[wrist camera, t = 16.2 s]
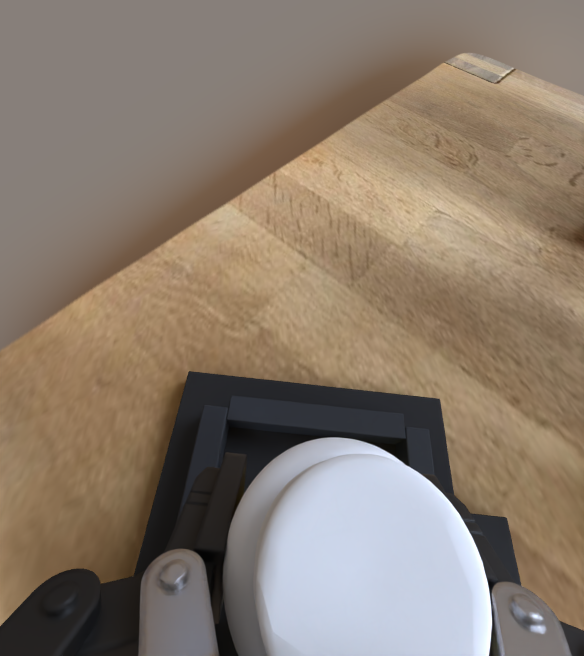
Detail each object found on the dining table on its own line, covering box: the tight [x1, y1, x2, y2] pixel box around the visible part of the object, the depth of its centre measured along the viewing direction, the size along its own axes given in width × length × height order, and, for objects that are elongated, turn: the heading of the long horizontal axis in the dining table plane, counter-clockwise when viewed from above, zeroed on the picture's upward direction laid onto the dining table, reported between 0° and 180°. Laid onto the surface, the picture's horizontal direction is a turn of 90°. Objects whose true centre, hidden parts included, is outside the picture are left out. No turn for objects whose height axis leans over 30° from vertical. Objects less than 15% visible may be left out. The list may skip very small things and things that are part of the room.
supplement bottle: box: [223, 437, 492, 656], centre depth 10 cm, size 6×6×10 cm
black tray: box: [134, 371, 521, 656], centre depth 13 cm, size 16×16×2 cm
